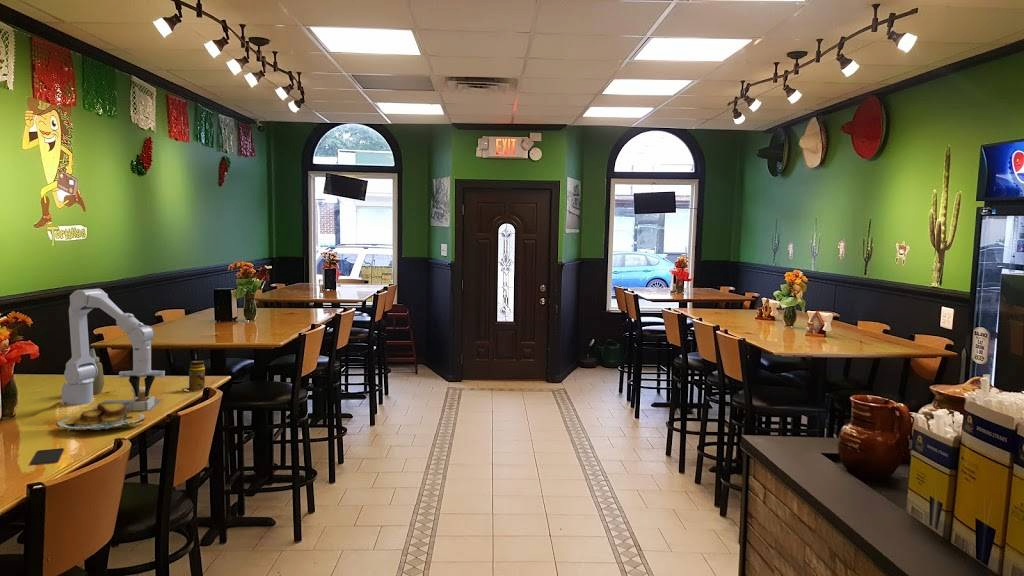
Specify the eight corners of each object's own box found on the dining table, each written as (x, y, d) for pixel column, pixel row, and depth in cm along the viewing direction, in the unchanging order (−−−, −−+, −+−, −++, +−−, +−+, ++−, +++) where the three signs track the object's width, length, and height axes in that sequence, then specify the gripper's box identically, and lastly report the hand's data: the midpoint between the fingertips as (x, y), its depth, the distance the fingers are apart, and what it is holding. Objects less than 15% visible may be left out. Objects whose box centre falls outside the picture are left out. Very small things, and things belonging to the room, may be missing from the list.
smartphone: (65, 447, 198) (58, 462, 185) (65, 449, 198) (58, 464, 185) (36, 450, 194) (28, 465, 182) (36, 452, 194) (28, 467, 182)
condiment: (206, 390, 276) (207, 362, 275) (184, 392, 271) (184, 363, 270) (204, 386, 282) (204, 359, 281) (182, 388, 277) (182, 360, 276)
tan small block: (137, 405, 239) (137, 392, 239) (140, 403, 243) (140, 390, 242) (145, 405, 239) (145, 391, 239) (148, 403, 243) (148, 389, 243)
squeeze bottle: (106, 390, 269) (106, 347, 268) (101, 395, 261) (101, 350, 260) (84, 391, 266) (83, 347, 265) (77, 395, 259) (77, 350, 257)
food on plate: (37, 433, 211) (37, 413, 211) (97, 414, 236) (97, 396, 235) (107, 440, 207) (107, 419, 207) (161, 419, 232) (161, 401, 232)
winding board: (88, 416, 232) (88, 398, 231) (104, 404, 248) (104, 387, 248) (150, 414, 237) (150, 396, 236) (162, 402, 253) (162, 386, 253)
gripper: (116, 361, 233) (116, 399, 234) (161, 361, 237) (161, 398, 238) (122, 358, 240) (122, 394, 241) (166, 357, 244) (166, 393, 245)
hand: (142, 396), depth 240 cm, fingers closed on tan small block, 2 cm apart
